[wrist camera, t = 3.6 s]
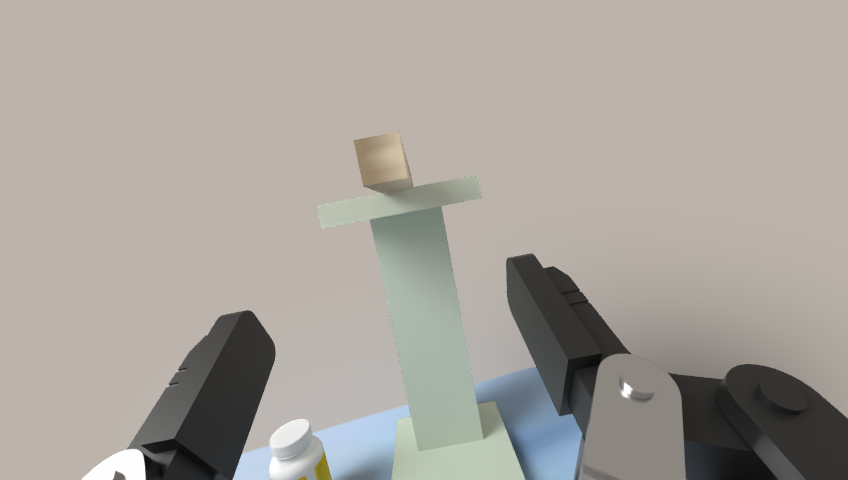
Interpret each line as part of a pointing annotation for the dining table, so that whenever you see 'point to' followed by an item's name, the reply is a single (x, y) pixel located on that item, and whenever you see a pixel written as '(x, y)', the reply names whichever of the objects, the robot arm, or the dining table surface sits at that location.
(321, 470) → the supplement bottle
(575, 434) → the dining table surface
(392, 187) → the ash rod
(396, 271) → the shelf stand
